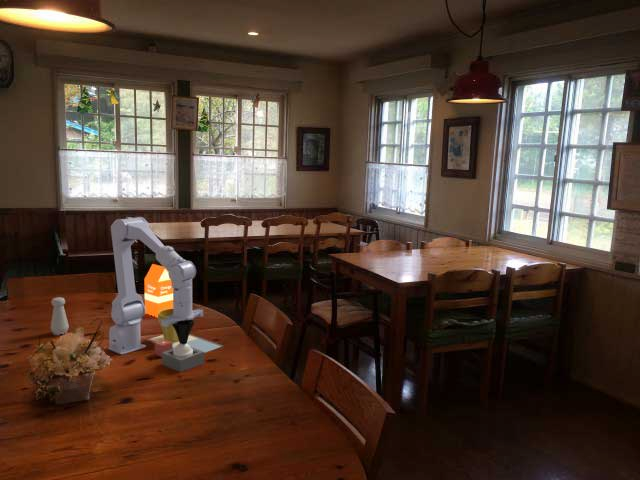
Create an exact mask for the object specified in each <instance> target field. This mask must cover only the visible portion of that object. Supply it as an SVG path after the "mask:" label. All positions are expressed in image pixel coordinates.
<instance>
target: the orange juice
mask: <svg viewBox="0 0 640 480" xmlns="http://www.w3.org/2000/svg"><path fill="white" fill-rule="evenodd" d="M143 280H144V306H145V315H148V314H149V315H148V316H151V315H152V317H154V316H155V317H154V318H157V319H158V313H159V312H160V311H162V310H165V309H171V308H173V287H172V286H171V280H170V278H169V275H168V271H167V270H166V269H165V268H164V267H163V266H162V265H158V264H155V263H152V264H151V266H150V268H149V270H148V272H147V274H146V275H145V277H144V279H143Z"/></svg>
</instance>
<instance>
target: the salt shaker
mask: <svg viewBox="0 0 640 480" xmlns="http://www.w3.org/2000/svg"><path fill="white" fill-rule="evenodd" d="M65 304H66V300H65V298H64V297H60V296H59V297H53V298H52V299H51V306H53V307H52V308H53V309H52V317H51V322H50V330H51V332H52V335H54V336H61V335H60V334H64V333H65V334H67V332H68V330H69V327H70V326H69V322H68V317H67V315H66V310H65V307H64V305H65ZM65 334H64V335H65Z"/></svg>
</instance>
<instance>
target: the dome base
mask: <svg viewBox="0 0 640 480" xmlns="http://www.w3.org/2000/svg"><path fill="white" fill-rule="evenodd" d="M191 348H192V347H191ZM174 349H175V348H174ZM174 349H171V350H168V351H165V352H162V357H161V365H162V366H165V367H167V368H170V369H172V370H174V371H176V372H179V373H182V372H185V371H188V370H190V369H193V368H196V367H198V366H202V365H205V353H204V352H203V351H201V350H198V349H195V348H192V349H193V354H192V355H189V356H186V357H183V358H180V357H177V356H175V355H173V350H174Z"/></svg>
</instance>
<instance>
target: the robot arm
mask: <svg viewBox="0 0 640 480" xmlns="http://www.w3.org/2000/svg"><path fill="white" fill-rule="evenodd" d="M110 233H111V241H112V242H111V243H112V249H113V258H114V266H115V267H114V268H115V275H116V285H117V292H118V295H116V297H115V298H114V299H113V300H112V302H111V305H112V306H111V319H112V321H113V322H114V323H115V324H114V325H113V326H111V327H110V328H109V331H108V338H109V339H108V340H109V342H108V343H109V347H108V348H107V349H108V350H110V351H112V352H114V353H116V354H119V355H121V356H122V355H126V354H128V353H132V352H136V351H138V350H141V349H145V348H147V345H146V344H143V343H141V342H142V340H141V338H142V336H141V321H143V318H144V316H145V315H146V314H145V303H144V301H143V297H142V296H141V294H138V293H137V290H136V284H135V275H134V274H135V273H134V265H133V255H132V249H131V246H132V245H133V244H134V243H135V242H136V241H137V240H139V241H140V242H142V243H143V244H144V245H145V246H146V247H148V248H149V249H150V250H151V251H152V252H153V253H155V259H156V261H158V263H159V264H160V266H163V267H164V268H165V269H166V270H167V271H168V275H169V278H170V280H171V286H172V287H173V315H171V316H169V317H167V318H164V319H162V320H161V325H162V326H164V327H167V326H168V325H171V324H172V326H173V327H174V329H175V331H176V333H177V336H178V339H179V343H181V344H186V343H187V340H188V336H189V334H190V333H191V330H192V328H193V326H194V325H195V320H194V318H197V317H199V318H200V317H204V310H203V309H199V308H198V309H194V310H193V279H195V277H196V274H197V269H196V266H195V264H194V263H193V262H192V261H191V260H186V259H184V258H183V256H180V255H179V254H178V253H177V252H176V251H175V248H174V247H173V246H170V245H164V244H163V243H162V242H161V240H160V239H159V238H158V237H157V235H155V233H154V232H153V230H151V228H150V223H149V222H148V221H147V220H146V219H145V217H142V216H137V217H131V218H122V219H121V218H117V219H115V220H114V222H113V223H112V224H111V225H110ZM161 325H160V326H161Z"/></svg>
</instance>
